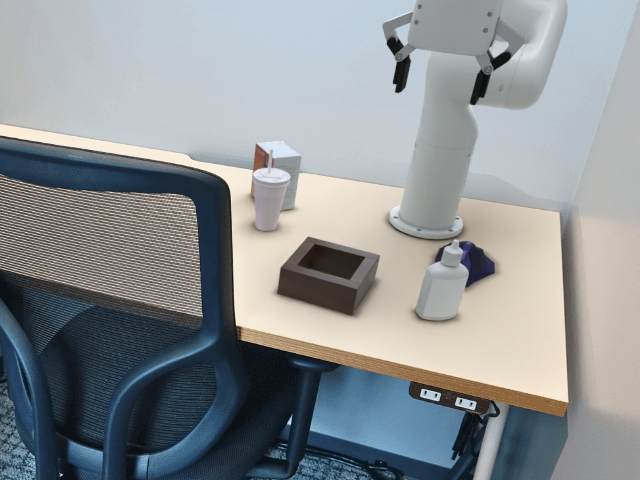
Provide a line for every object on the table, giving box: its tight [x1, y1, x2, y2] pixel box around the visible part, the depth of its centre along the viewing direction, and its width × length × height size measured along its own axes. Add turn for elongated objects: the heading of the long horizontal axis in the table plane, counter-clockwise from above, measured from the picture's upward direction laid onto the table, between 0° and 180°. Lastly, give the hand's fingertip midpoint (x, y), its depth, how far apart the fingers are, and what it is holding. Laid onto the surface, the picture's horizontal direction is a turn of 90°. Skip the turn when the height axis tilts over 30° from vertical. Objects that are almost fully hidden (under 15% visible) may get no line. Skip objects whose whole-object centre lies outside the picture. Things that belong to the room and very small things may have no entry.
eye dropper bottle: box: [415, 239, 469, 321], centre depth 97 cm, size 4×6×12 cm
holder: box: [276, 236, 381, 317], centre depth 105 cm, size 12×12×4 cm
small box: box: [250, 140, 302, 211], centre depth 128 cm, size 8×6×10 cm
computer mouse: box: [434, 240, 496, 289], centre depth 110 cm, size 9×15×4 cm, turn 149°
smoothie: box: [251, 149, 290, 232], centre depth 119 cm, size 6×6×14 cm
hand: (436, 96), depth 92 cm, fingers open, 9 cm apart
